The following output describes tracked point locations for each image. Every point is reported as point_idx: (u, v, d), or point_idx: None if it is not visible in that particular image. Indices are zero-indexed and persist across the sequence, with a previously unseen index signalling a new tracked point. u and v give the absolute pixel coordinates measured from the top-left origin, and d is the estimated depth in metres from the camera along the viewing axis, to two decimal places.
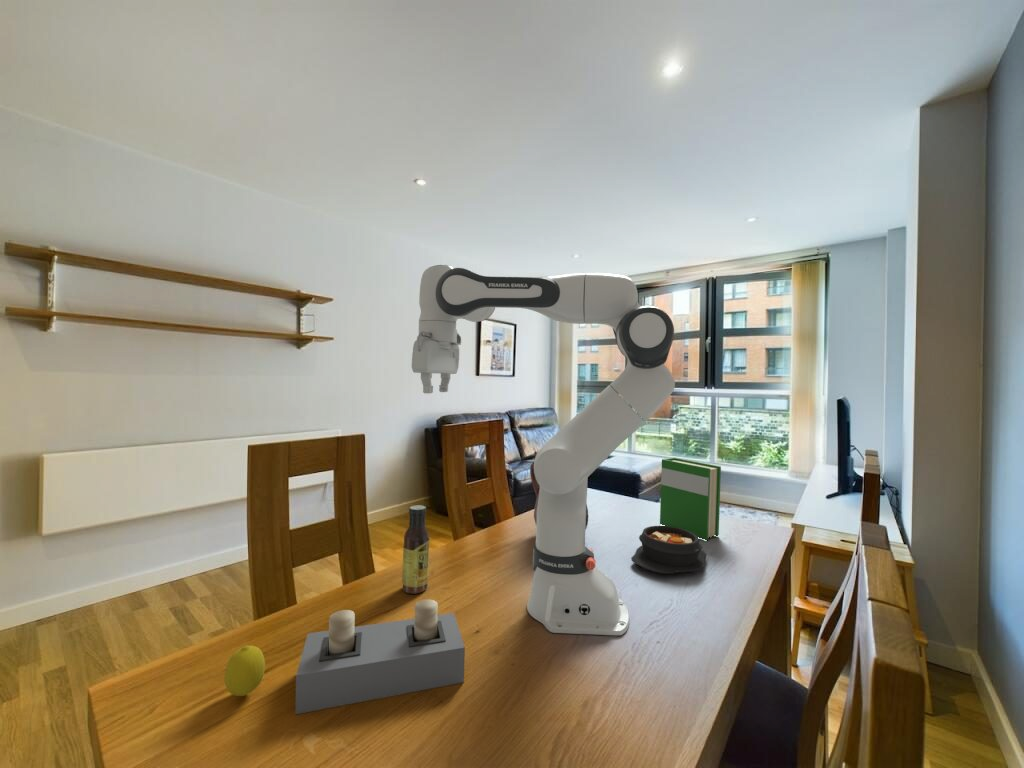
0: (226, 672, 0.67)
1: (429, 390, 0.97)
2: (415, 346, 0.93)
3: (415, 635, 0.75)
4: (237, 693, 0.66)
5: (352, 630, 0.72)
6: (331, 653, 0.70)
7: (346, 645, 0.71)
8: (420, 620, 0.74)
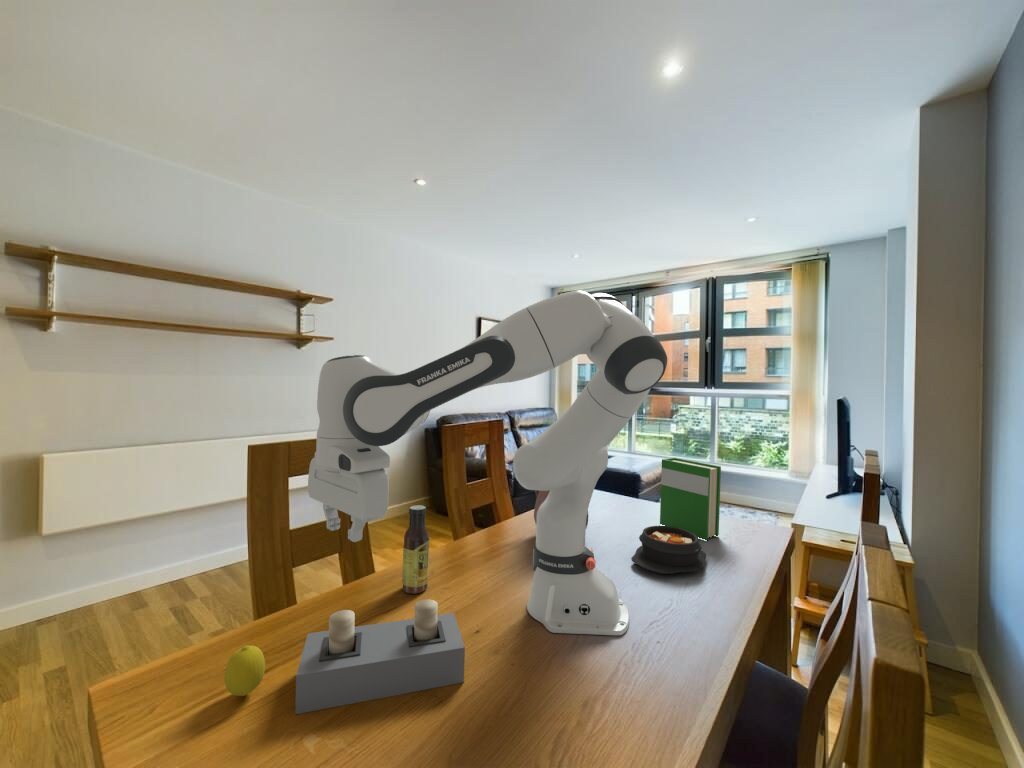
0: (226, 672, 0.67)
1: None
2: None
3: (415, 635, 0.75)
4: (237, 693, 0.66)
5: (352, 630, 0.72)
6: (331, 653, 0.70)
7: (346, 645, 0.71)
8: (420, 620, 0.74)
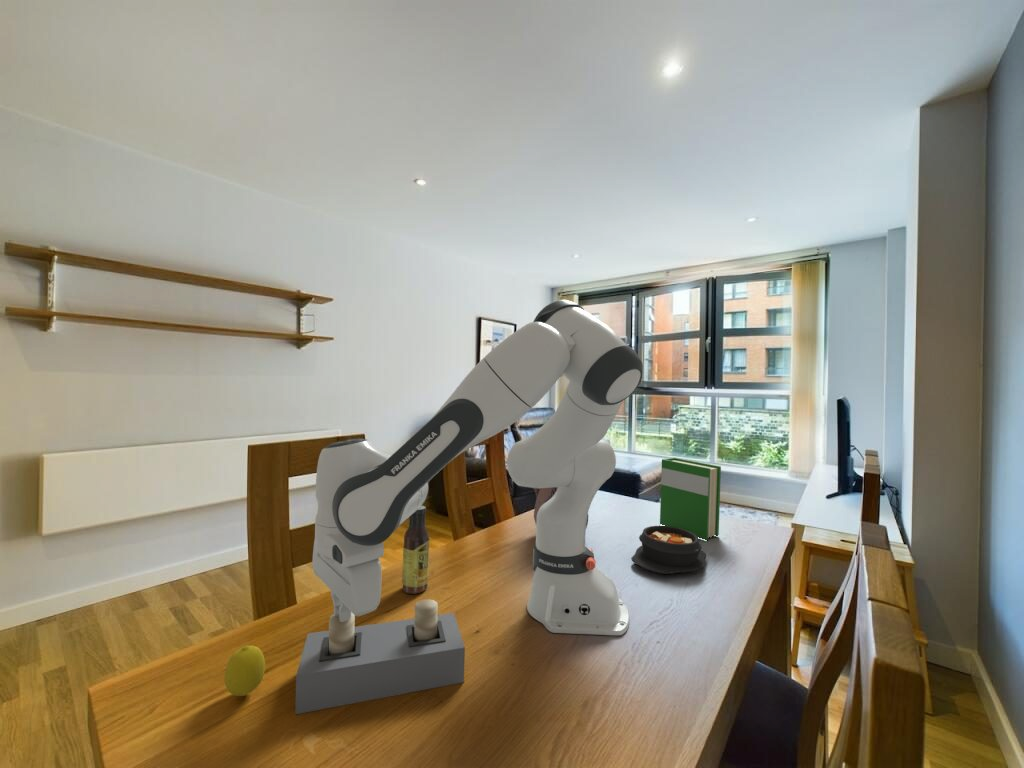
0: (226, 672, 0.67)
1: None
2: None
3: (415, 635, 0.75)
4: (237, 693, 0.66)
5: (352, 631, 0.72)
6: (331, 654, 0.70)
7: (346, 645, 0.71)
8: (420, 620, 0.74)
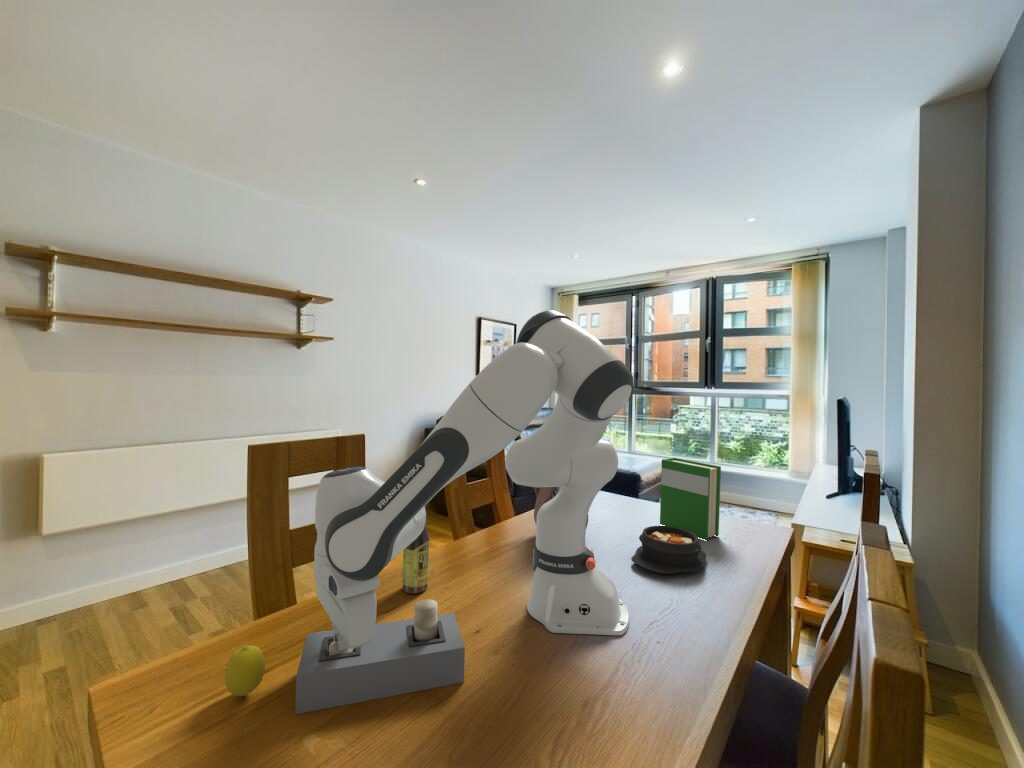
0: (226, 672, 0.67)
1: None
2: None
3: (415, 635, 0.75)
4: (237, 693, 0.66)
5: None
6: None
7: None
8: (420, 620, 0.74)
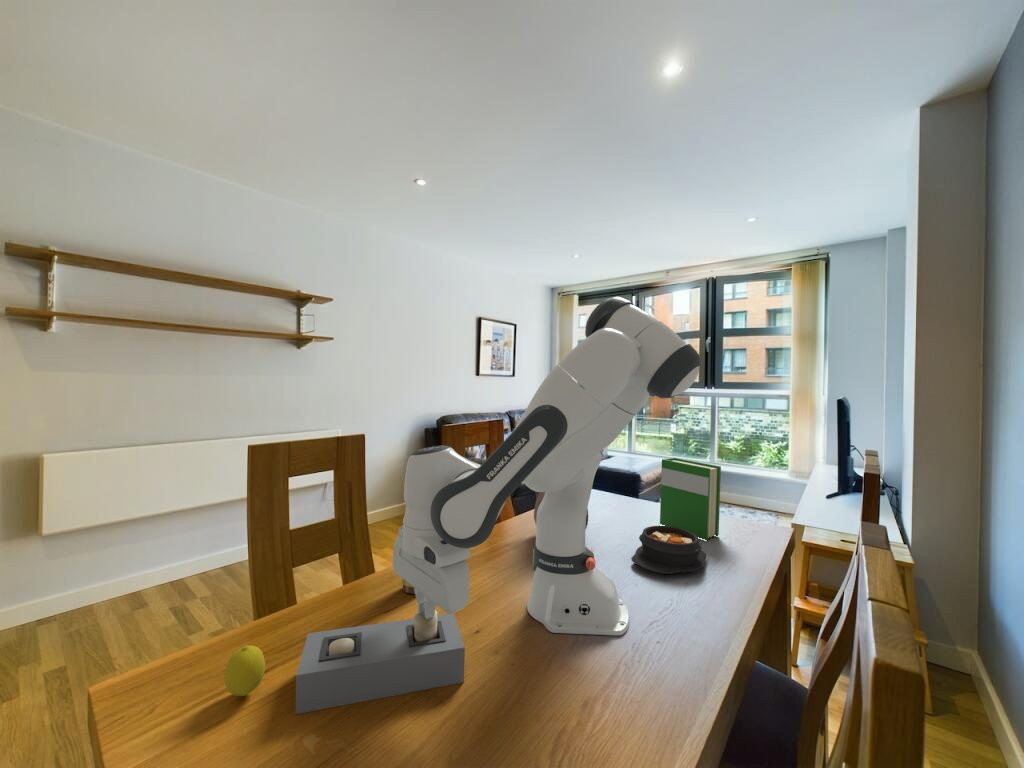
0: (226, 672, 0.67)
1: None
2: None
3: None
4: (237, 693, 0.66)
5: None
6: None
7: None
8: (420, 630, 0.74)
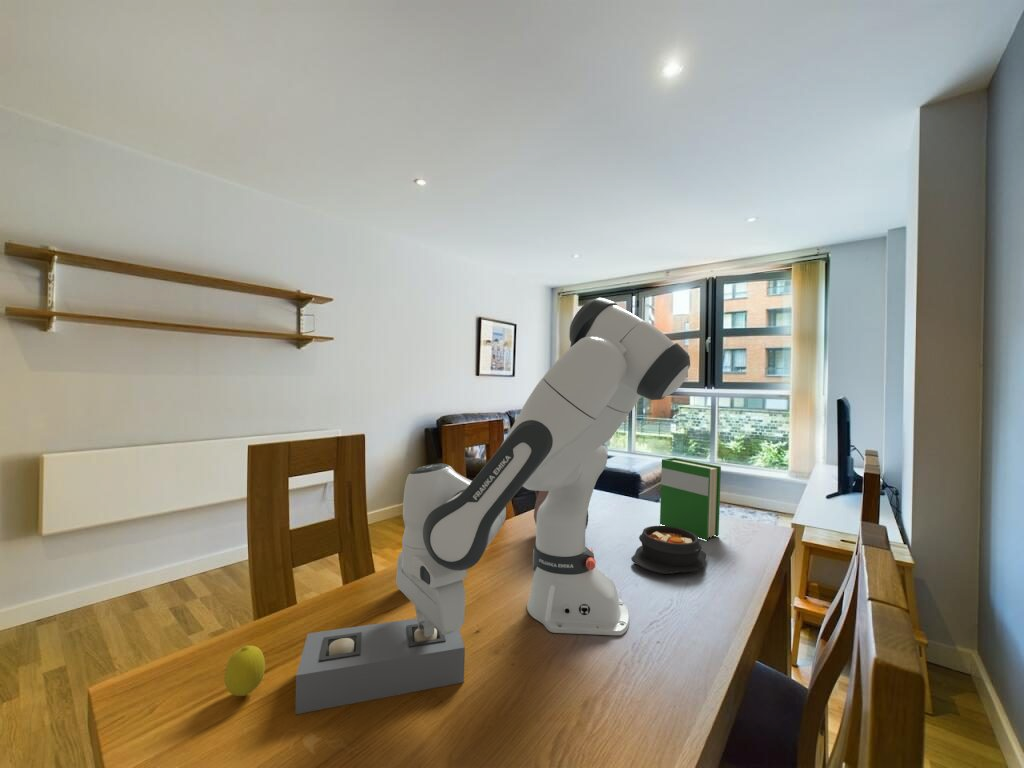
0: (226, 672, 0.67)
1: None
2: None
3: None
4: (237, 693, 0.66)
5: None
6: None
7: None
8: None
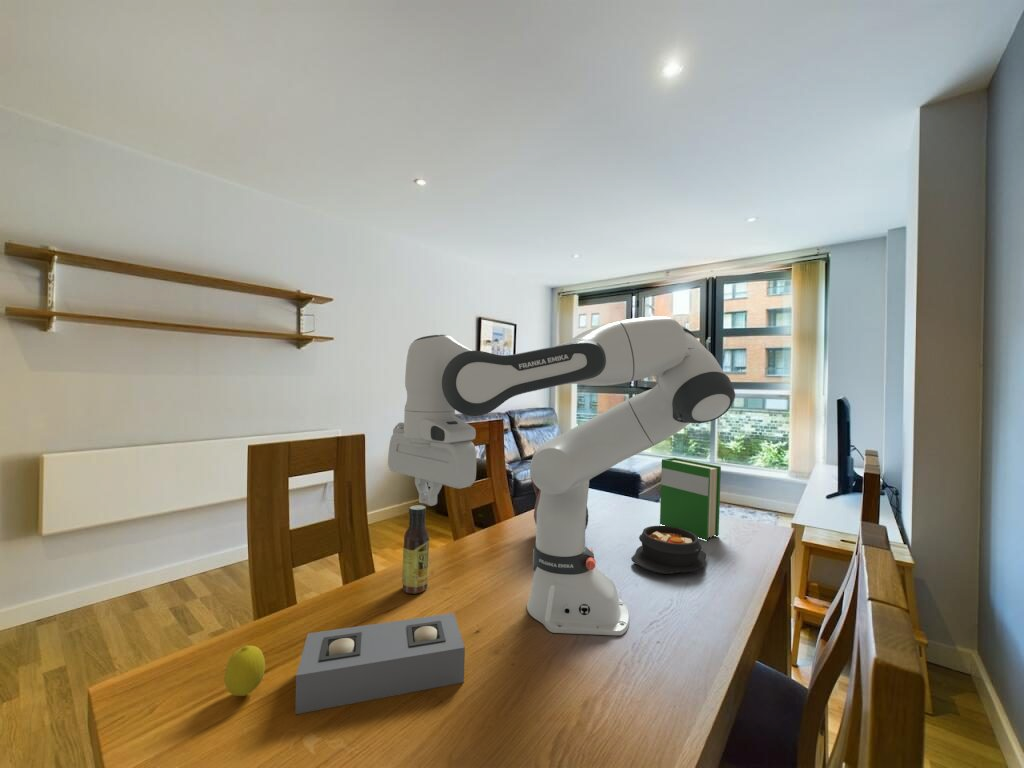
0: (226, 672, 0.67)
1: None
2: None
3: None
4: (237, 693, 0.66)
5: None
6: None
7: None
8: None
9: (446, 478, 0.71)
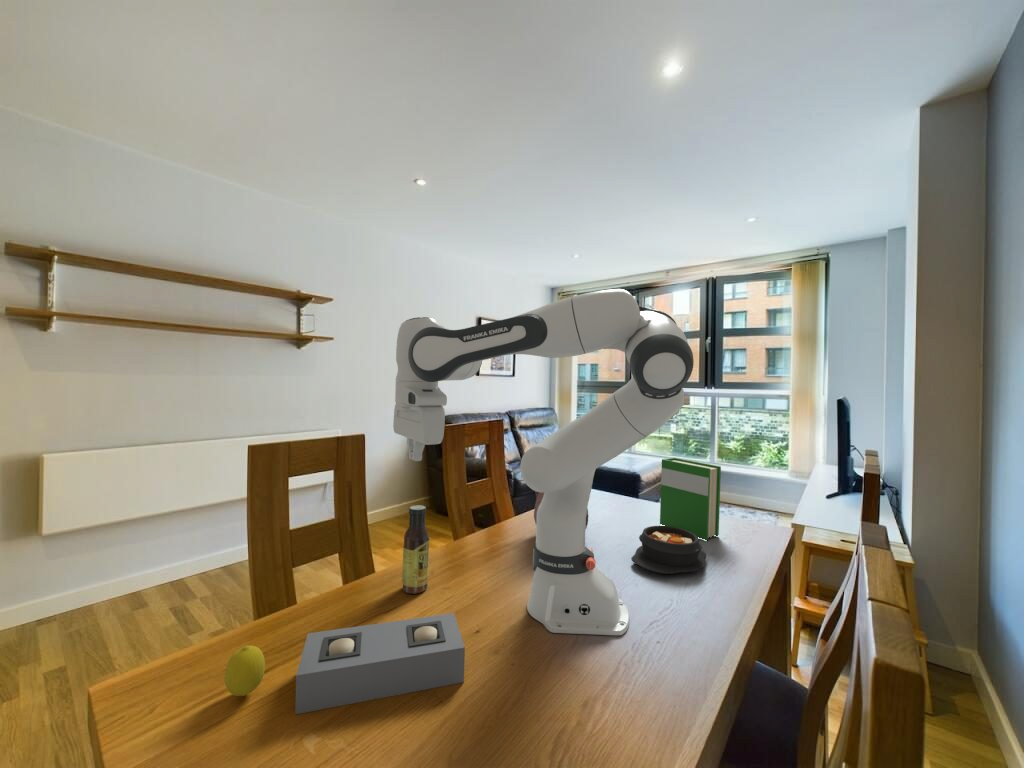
0: (226, 672, 0.67)
1: None
2: None
3: None
4: (237, 693, 0.66)
5: None
6: None
7: None
8: None
9: (419, 436, 0.84)
